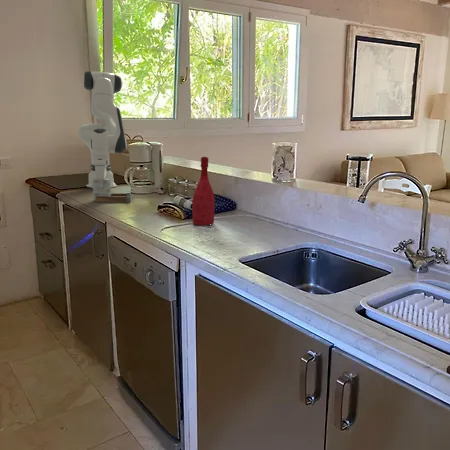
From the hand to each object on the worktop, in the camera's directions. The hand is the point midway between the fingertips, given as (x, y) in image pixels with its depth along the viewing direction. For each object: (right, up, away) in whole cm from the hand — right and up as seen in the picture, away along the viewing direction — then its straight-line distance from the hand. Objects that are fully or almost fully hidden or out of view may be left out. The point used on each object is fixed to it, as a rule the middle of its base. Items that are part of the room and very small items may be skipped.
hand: (102, 186), depth 249 cm
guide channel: (+6, -8, +3) cm, 10 cm away
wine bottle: (+57, -21, -42) cm, 73 cm away
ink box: (0, -8, +2) cm, 8 cm away
